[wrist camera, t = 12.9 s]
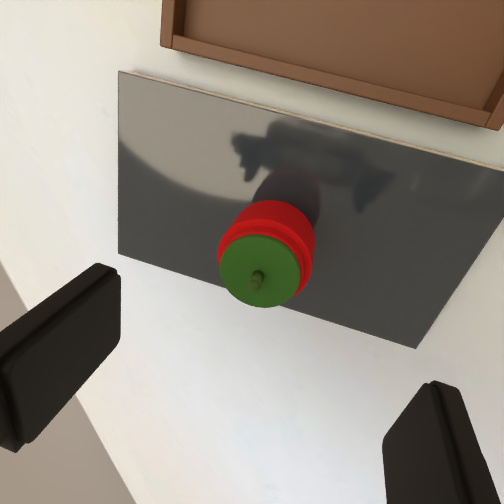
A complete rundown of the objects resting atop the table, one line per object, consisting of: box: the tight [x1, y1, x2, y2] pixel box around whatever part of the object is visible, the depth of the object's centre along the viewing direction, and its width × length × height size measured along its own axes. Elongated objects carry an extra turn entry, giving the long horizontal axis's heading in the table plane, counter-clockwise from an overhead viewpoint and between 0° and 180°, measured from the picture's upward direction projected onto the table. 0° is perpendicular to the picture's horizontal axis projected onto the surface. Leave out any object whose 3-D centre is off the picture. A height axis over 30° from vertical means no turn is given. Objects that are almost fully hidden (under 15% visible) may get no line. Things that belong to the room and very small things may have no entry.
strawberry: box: [217, 200, 315, 308], centre depth 15 cm, size 4×4×7 cm
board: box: [118, 71, 504, 349], centre depth 19 cm, size 20×11×1 cm, turn 78°
